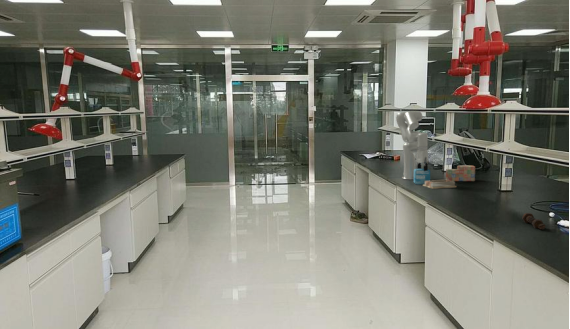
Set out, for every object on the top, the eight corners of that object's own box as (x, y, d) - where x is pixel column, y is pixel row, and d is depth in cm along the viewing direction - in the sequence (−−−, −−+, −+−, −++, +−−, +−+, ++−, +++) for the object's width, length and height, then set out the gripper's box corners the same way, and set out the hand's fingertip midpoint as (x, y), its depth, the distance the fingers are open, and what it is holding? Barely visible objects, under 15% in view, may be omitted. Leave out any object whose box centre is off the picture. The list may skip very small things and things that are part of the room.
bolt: (540, 234, 201) (525, 224, 216) (550, 229, 200) (534, 219, 215) (534, 224, 200) (520, 215, 215) (544, 219, 199) (529, 210, 214)
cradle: (422, 185, 321) (422, 180, 321) (445, 184, 325) (446, 179, 324) (432, 188, 308) (432, 183, 307) (456, 187, 311) (456, 182, 311)
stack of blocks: (447, 181, 337) (448, 166, 336) (445, 179, 344) (446, 165, 342) (474, 181, 335) (475, 166, 333) (472, 179, 341) (472, 165, 339)
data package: (415, 184, 327) (415, 169, 325) (413, 183, 331) (413, 168, 330) (430, 184, 326) (430, 169, 325) (428, 183, 331) (428, 168, 329)
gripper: (412, 148, 332) (412, 169, 334) (423, 149, 316) (423, 171, 317) (421, 147, 334) (421, 168, 336) (432, 149, 317) (432, 171, 319)
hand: (422, 170), depth 326 cm, fingers open, 9 cm apart
